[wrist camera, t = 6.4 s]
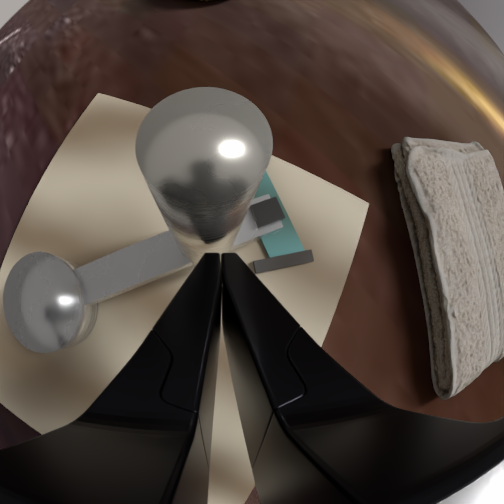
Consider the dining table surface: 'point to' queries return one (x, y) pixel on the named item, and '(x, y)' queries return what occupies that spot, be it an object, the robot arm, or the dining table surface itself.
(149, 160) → the crank handle
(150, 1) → the dining table surface
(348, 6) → the dining table surface
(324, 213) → the napkin
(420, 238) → the washcloth
